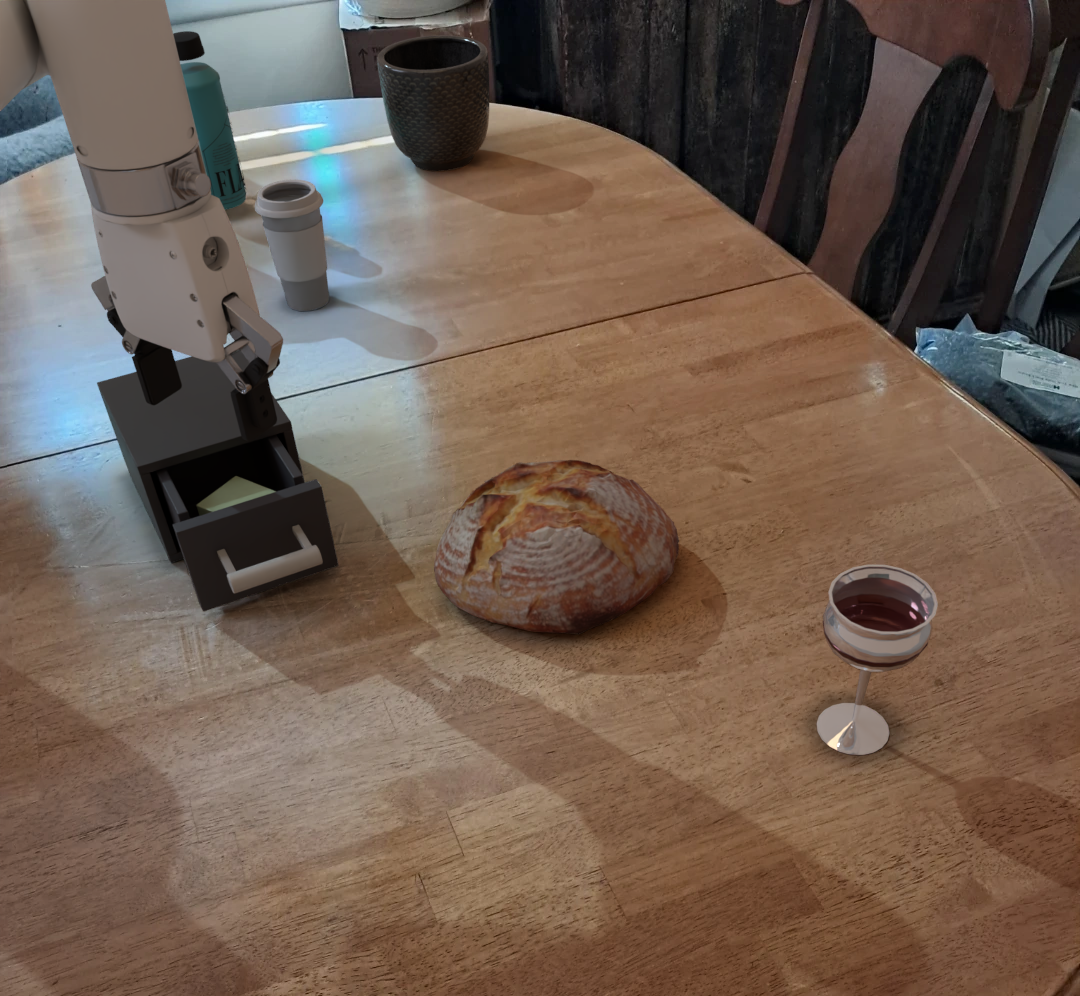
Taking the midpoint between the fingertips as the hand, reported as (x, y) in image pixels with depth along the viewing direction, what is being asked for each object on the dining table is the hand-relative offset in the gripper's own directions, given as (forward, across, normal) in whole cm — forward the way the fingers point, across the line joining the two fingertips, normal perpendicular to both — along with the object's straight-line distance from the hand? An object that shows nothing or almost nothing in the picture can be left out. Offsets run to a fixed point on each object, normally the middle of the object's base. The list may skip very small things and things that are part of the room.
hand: (211, 413), depth 86 cm
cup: (+14, +26, -38) cm, 48 cm away
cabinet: (+14, +9, -6) cm, 18 cm away
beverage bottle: (+15, +51, -51) cm, 74 cm away
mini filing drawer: (+13, -1, 0) cm, 13 cm away
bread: (+14, -23, -12) cm, 29 cm away
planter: (+14, +36, -77) cm, 86 cm away
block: (+12, 0, 0) cm, 12 cm away
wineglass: (+14, -50, -8) cm, 52 cm away
